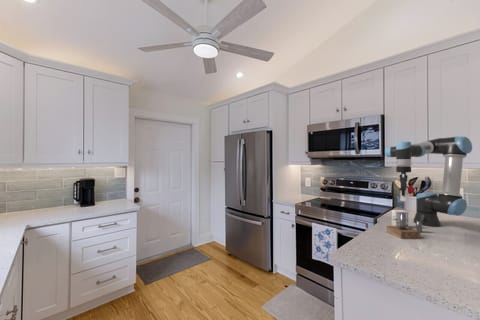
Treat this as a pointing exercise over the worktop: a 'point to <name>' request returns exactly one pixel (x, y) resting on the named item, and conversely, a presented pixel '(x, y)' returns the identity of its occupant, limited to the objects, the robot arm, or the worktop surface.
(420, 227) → the short pin
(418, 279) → the worktop surface
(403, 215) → the long pin
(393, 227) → the hole block
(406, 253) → the worktop surface
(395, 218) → the ink box
